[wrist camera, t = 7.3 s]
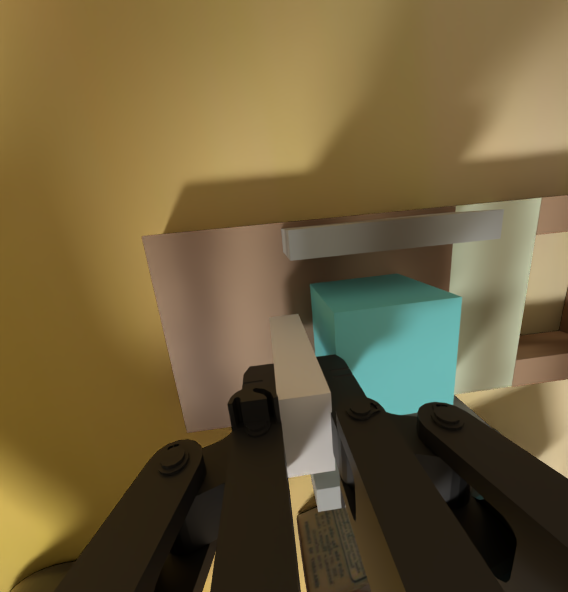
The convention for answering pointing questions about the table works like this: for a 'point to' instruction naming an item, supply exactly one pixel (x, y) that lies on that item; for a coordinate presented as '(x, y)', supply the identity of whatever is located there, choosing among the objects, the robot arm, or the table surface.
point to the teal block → (391, 337)
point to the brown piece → (349, 265)
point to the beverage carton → (330, 552)
